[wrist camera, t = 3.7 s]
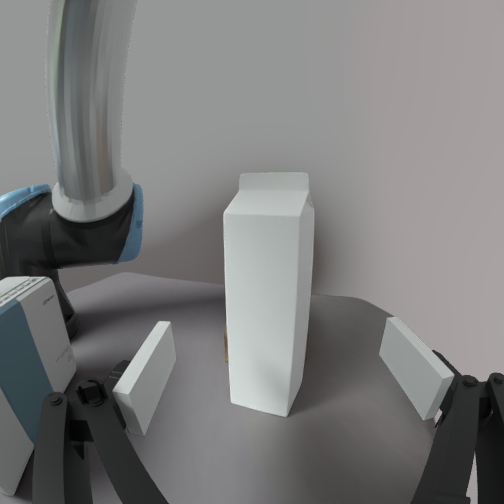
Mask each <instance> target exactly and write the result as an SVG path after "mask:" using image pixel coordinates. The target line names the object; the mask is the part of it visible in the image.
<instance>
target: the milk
mask: <svg viewBox="0 0 504 504" xmlns="http://www.w3.org/2000/svg"><path fill="white" fill-rule="evenodd" d="M313 242H314V207H313V204H312V200H311V197H310V194H309V176H308V174H307V173H305V172H271V173H270V172H269V173H242V174H241V175H240V177H239V192H238V193H237V195H236V196H235V198H234V199H233V200H232V202H231V203H230V204H229V206H228V207H227V209H226V210H225V212H224V259H225V260H224V261H225V293H226V319H227V340H228V360H229V377H230V393H231V403H233V404H237V405H240V406H243V407H247V408H251V409H254V410H258V411H262V412H266V413H270V414H274V415H278V416H283V417H287V415H288V413H289V411H290V409H291V407H292V404H293V402H294V400H295V397H296V395H297V393H298V391H299V388H300V386H301V383H302V377H303V369H304V360H305V351H306V342H307V332H308V321H309V309H310V296H311V281H312V262H313Z"/></svg>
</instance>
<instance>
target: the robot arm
mask: <svg viewBox="0 0 504 504" xmlns="http://www.w3.org/2000/svg"><path fill="white" fill-rule="evenodd" d="M136 4H137V0H50V7H49V14H48V23H47V35H46V54H45V76H46V78H45V80H46V101H47V113H48V123H49V131H50V139H51V145H52V151H53V157H54V163H55V168H56V173H57V178H58V182H57V183H56V185H55V187H54V189H53V192H52V193H51V189H50V186H49V185H48V184H39V185H34V186H31V187H26V188H21V189H19V190H15V191H13V192H9V193H7V194H5V195H2V196H0V218H1V222H0V281H1V280H3V279H5V278H7V277H24V276H30V277H49V278H50V279H52V281H53V283H54V286H55V289H56V293H57V297H58V301H59V305H60V308H61V312H62V316H63V319H64V323H65V327H66V330H67V334H68V337H69V339H70V338H72V337H73V336H74V334H75V333H76V332H77V330H78V326H79V325H78V320H77V316H76V312H75V310H74V308H73V306H72V305H71V303H70V301H69V299H68V297H67V296H66V294H65V292H64V290H63V288H62V286H61V284H60V281H59V276H58V270H57V269H63V268H72V267H84V266H95V265H107V264H118V263H119V262H126V261H131V260H133V259H135V258H136V257H137V256H138V254H139V251H140V247H141V241H142V220H143V193H142V188H141V186H140V185H138V184H134V183H133V182H132V178H131V176H130V174H129V173H128V171H127V170H126V169H124V168H123V167H122V166H121V126H122V105H123V90H124V79H125V70H126V62H127V54H128V47H129V40H130V35H131V29H132V24H133V18H134V14H135V9H136ZM379 355H380V357H381V358H382V360H383V361H384V362H385V364H386V365H387V367H388V368H389V370H390V371H391V373H392V374H393V376H394V377H395V378H396V380H397V381H398V383H399V384H400V386H401V387H402V389H403V390H404V392H405V393H406V395H407V396H408V398H409V399H410V401H411V402H412V404H413V405H414V407H415V409H416V410H417V412H418V413H419V415H420V416H421V418H422V419H423V421H424V420H427V419H430V418H433V417H435V415H436V414H437V412H438V410H439V408H440V410H441V411H442V415H441V416H440V418H439V420H438V422H437V423H436V425H435V427H434V428H436V427H437V425H438V427H437V431H436V434H435V438H434V442H433V445H432V448H431V451H430V455H429V458H428V461H427V464H426V466H425V469H424V472H423V475H422V477H421V480H420V482H419V485H418V487H417V490H416V492H415V495H414V497H413V499H412V501H411V503H410V504H470V497H466V492H467V488H468V484H469V479H470V474H471V469H472V464H473V459H474V453H475V455H476V465H477V483H478V504H504V375H503V374H501V373H492V374H490V376H489V378H488V380H487V381H485V382H479V381H478V380H477V379H476V378H475V377H472V376H470V375H463V376H462V375H461V374H460V373H459V372H458V371H457V370H456V369H455V368H454V367H453V366H452V365H451V364H449V362H448V361H447V360H446V359H445V358H444V357H443V356H442V355H441V354H440V353H438V352H436V351H434V350H432V351H431V350H430V349H429V348H428V347H427V346H426V345H425V344H424V343H423V342H422V341H421V340H420V339H419V338H418V337H417V336H416V335H415V334H414V333H413V332H412V331H411V330H410V329H409V328H408V327H407V326H406V325H405V324H404V323H403V322H402V321H401V320H400V319H399V318H398V317H389V318H387V321H386V326H385V331H384V335H383V340H382V344H381V348H380V352H379ZM175 362H176V354H175V348H174V342H173V335H172V328H171V322H166V321H158V323H157V324H156V326H155V327H154V329H153V330H152V332H151V333H150V334H149V336H148V337H147V339H146V340H145V342H144V343H143V345H142V346H141V348H140V349H139V351H138V352H137V354H136V355H135V357H134V358H133V360H132V361H126V360H123V361H122V362H120V363H119V364H117V365H116V367H115V368H114V369H113V372H111V374H110V375H109V377H108V378H107V379H106V381H105V382H104V384H103V383H102V381H101V380H99V379H97V378H86V379H84V380H81V381H80V382H79V383H78V384H77V385H76V393H77V395H78V397H79V399H80V401H69V400H68V398H67V396H66V395H65V394H64V393H62V392H52V393H50V394H48V395H47V396H45V398H44V400H43V403H42V408H41V413H40V419H39V424H38V431H37V437H36V445H35V454H34V464H33V480H32V504H93V500H92V493H91V485H90V476H89V464H88V447H87V441H91V442H95V445H96V448H97V450H98V453H99V455H100V457H101V460H102V462H103V465H104V467H105V469H106V471H107V474H108V476H109V478H110V480H111V482H112V484H113V486H114V488H115V490H116V492H117V494H118V496H119V498H120V500H121V501H122V503H123V504H169V503H168V502H167V501H166V499H165V498H164V496H163V495H162V494H161V492H160V491H159V489H158V488H157V486H156V485H155V483H154V482H153V480H152V479H151V477H150V476H149V474H148V472H147V471H146V469H145V468H144V466H143V464H142V463H141V461H140V459H139V458H138V456H137V454H136V452H135V451H134V449H133V447H132V445H131V443H130V441H129V440H128V438H127V436H126V434H125V432H124V429H125V427H126V426H127V429H128V431H129V433H130V434H135V435H140V436H145V434H146V432H147V429H148V427H149V424H150V422H151V419H152V417H153V414H154V412H155V410H156V407H157V405H158V402H159V400H160V397H161V395H162V393H163V390H164V388H165V385H166V383H167V381H168V378H169V376H170V374H171V371H172V369H173V367H174V364H175ZM492 411H493V412H492Z"/></svg>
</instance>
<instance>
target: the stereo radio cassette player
mask: <svg viewBox="0 0 504 504" xmlns="http://www.w3.org/2000/svg"><path fill="white" fill-rule="evenodd" d="M0 222H1V218H0ZM75 372H76V363H75V358H74V355H73V351H72V348H71V344H70V341H69V337H68V334H67V330H66V327H65V323H64V319H63V316H62V312H61V308H60V305H59V301H58V297H57V293H56V289H55V286H54V283H53V281H52V279H50V278H49V277H30V276H24V277H7V278H5V279H3V280H1V281H0V492H1V493H3V494H5V495H8V496H13V495H14V494H15V491H16V489H17V486H18V484H19V481H20V479H21V476H22V474H23V472H24V469H25V467H26V465H27V462H28V460H29V458H30V456H31V454H32V451H33V449H34V447H35V445H36V437H37V431H38V424H39V419H40V413H41V408H42V403H43V400H44V398H45V396H47V395H48V394H50V393H52V392H62V393H64V391H65V389H66V387H67V386H68V384H69V382H70V381H71V379H72V377H73V376H74V374H75Z"/></svg>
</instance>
